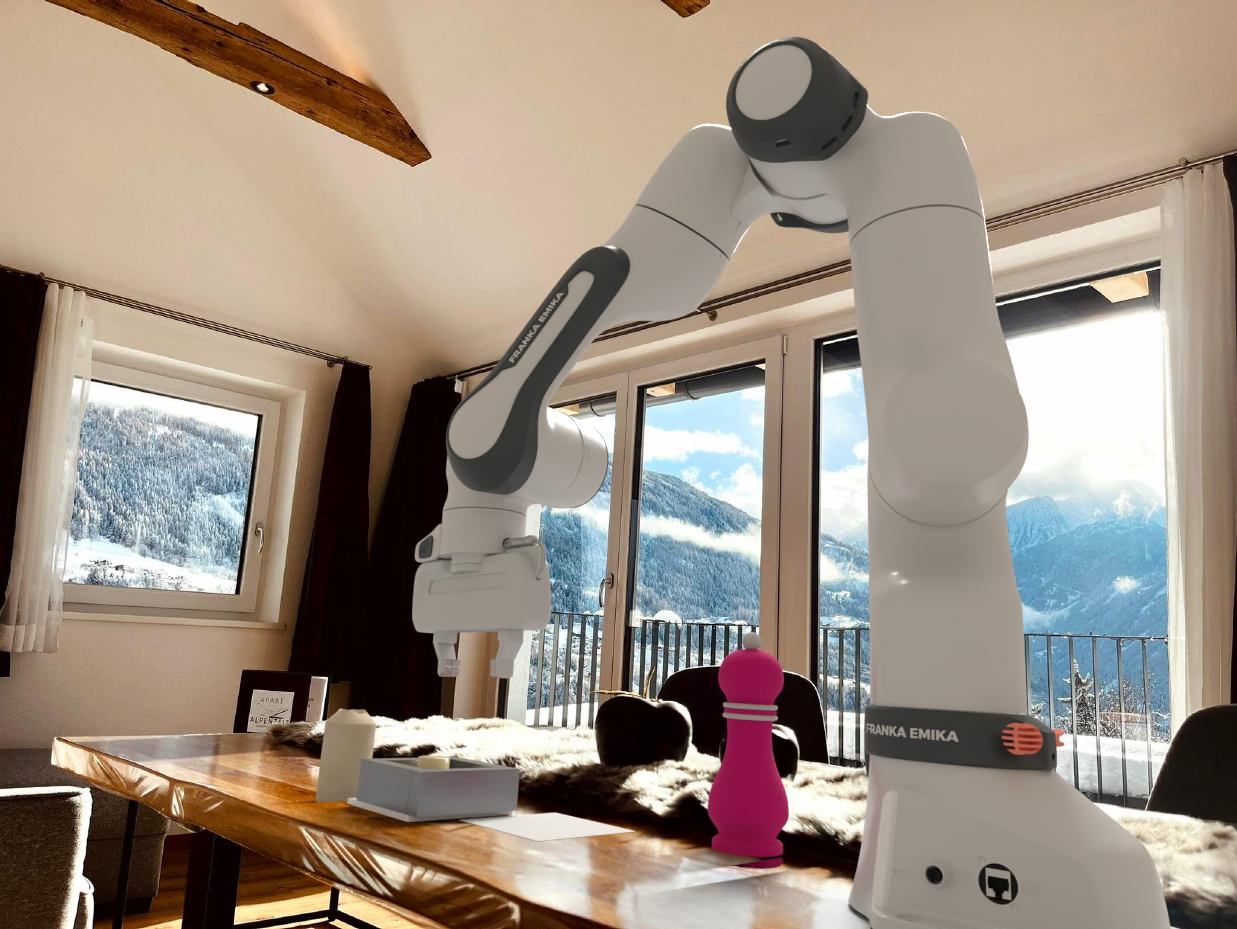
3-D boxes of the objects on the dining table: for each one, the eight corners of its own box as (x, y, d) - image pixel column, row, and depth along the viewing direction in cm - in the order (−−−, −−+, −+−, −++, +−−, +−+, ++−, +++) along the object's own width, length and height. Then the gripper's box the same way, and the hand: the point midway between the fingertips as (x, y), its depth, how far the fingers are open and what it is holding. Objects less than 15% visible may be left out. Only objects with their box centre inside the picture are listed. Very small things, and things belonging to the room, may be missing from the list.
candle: (347, 808, 95) (359, 710, 97) (304, 803, 97) (316, 707, 99) (376, 802, 100) (387, 710, 102) (335, 797, 102) (346, 707, 104)
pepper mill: (693, 861, 77) (701, 628, 82) (723, 849, 84) (729, 633, 88) (773, 874, 74) (777, 630, 79) (798, 861, 80) (800, 635, 85)
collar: (516, 810, 90) (519, 768, 91) (416, 817, 82) (421, 772, 83) (452, 794, 98) (456, 757, 99) (356, 800, 91) (361, 758, 91)
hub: (510, 824, 91) (515, 762, 92) (407, 832, 83) (414, 765, 84) (445, 807, 99) (451, 750, 101) (346, 813, 91) (353, 752, 93)
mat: (635, 842, 85) (636, 831, 85) (536, 853, 77) (537, 841, 77) (554, 822, 93) (555, 812, 93) (458, 830, 85) (459, 819, 85)
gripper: (569, 537, 89) (563, 680, 85) (455, 554, 103) (445, 676, 100) (519, 528, 85) (510, 678, 81) (407, 547, 99) (395, 675, 96)
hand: (473, 677), depth 91 cm, fingers open, 8 cm apart
